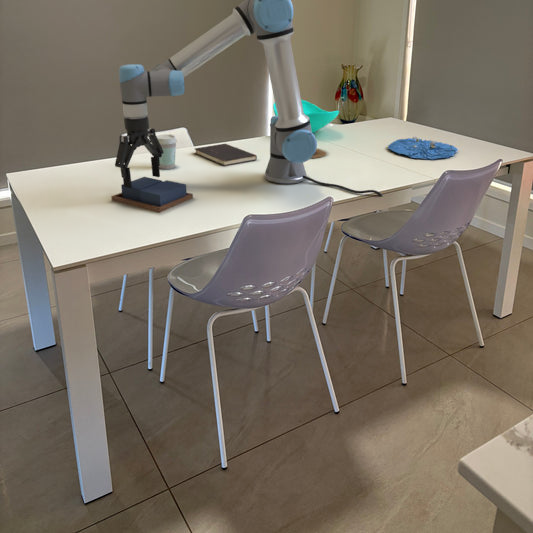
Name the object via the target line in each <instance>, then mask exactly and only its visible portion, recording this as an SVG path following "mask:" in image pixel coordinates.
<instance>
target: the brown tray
mask: <svg viewBox="0 0 533 533" xmlns="http://www.w3.org/2000/svg"><path fill="white" fill-rule="evenodd" d="M192 199H194V193H190V192H187V195H186V196H184V197H181V198H179V199H177V200H174V201H172V202H170V203H167V204H165V205H163V206H160V207H158V206H153V205H149V204H145V203H141V202H137V201H133V200H129V199H125V198H123V197H122V192H119V193H116V194H114V195H111V201H112V202H115V203H119V204H123V205H127V206H132V207H135V208H139V209H143V210H147V211H151V212H155V213H162V212H165V211H167V210H169V209H171V208H174V207H177V206H178V205H181V204H183V203H185V202H188V201H190V200H192Z"/></svg>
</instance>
